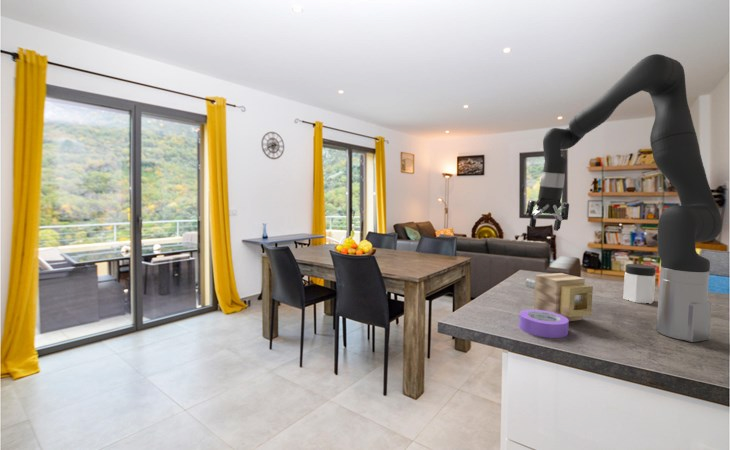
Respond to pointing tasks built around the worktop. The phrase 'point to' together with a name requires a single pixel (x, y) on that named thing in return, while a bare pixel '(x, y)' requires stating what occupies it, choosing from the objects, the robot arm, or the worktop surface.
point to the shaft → (531, 284)
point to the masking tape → (543, 323)
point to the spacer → (568, 300)
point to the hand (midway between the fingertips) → (544, 229)
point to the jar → (639, 283)
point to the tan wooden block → (553, 292)
